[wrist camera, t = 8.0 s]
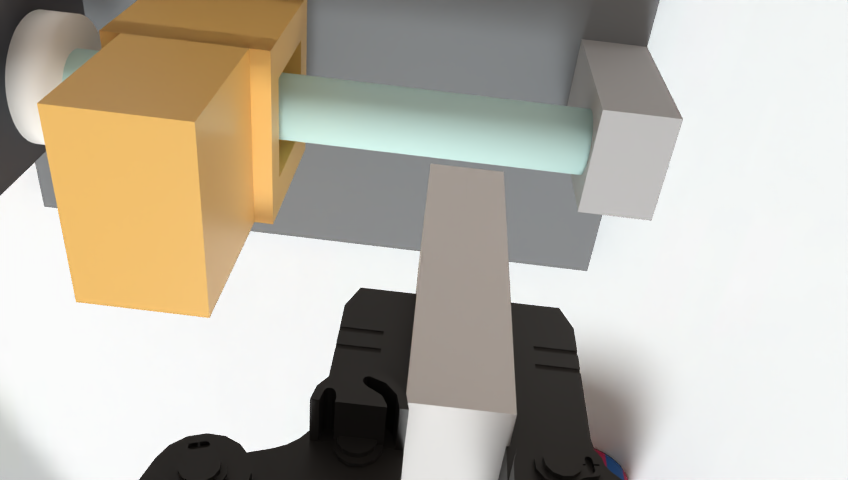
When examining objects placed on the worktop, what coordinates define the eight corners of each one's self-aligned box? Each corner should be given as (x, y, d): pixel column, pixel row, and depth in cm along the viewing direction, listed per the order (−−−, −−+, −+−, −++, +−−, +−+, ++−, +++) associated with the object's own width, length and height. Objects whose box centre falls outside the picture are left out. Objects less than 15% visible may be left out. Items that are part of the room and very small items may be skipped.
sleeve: (164, -22, 22) (10, 100, 15) (307, -5, 22) (221, 124, 15) (178, 133, 24) (53, 299, 17) (305, 149, 24) (231, 320, 17)
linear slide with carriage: (-29, -243, 21) (-307, -226, 14) (692, -159, 21) (802, -95, 14) (56, 192, 29) (-92, 354, 22) (583, 255, 29) (617, 438, 22)
